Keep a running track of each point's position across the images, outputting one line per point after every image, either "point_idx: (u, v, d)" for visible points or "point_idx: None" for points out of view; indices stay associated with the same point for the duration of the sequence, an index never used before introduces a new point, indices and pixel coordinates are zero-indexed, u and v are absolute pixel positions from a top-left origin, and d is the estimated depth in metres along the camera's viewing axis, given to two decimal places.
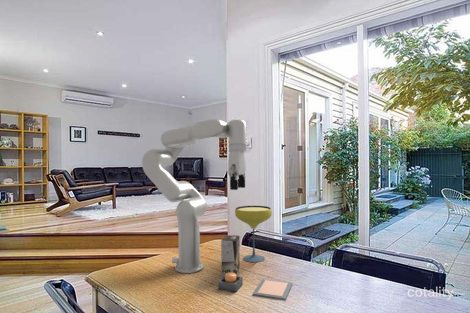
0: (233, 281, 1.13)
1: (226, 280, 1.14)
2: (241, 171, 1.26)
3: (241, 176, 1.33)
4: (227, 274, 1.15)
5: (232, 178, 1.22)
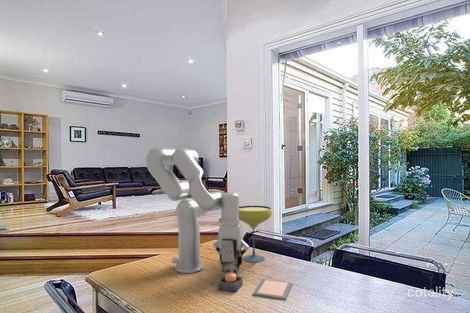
0: (233, 281, 1.13)
1: (226, 280, 1.14)
2: None
3: None
4: (227, 274, 1.15)
5: None
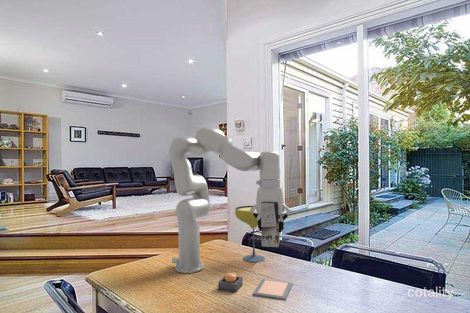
0: (233, 281, 1.13)
1: (226, 280, 1.14)
2: None
3: None
4: (227, 274, 1.15)
5: None
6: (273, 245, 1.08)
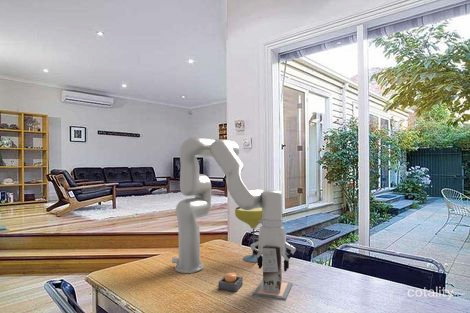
0: (233, 281, 1.13)
1: (226, 280, 1.14)
2: None
3: None
4: (227, 274, 1.15)
5: (290, 257, 1.10)
6: (275, 291, 1.08)
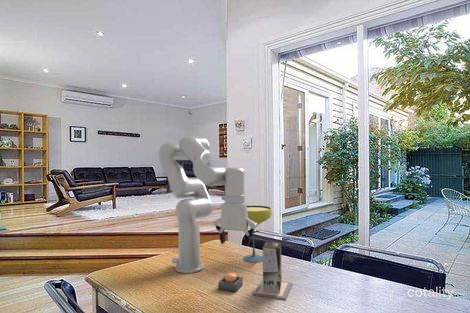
0: (233, 281, 1.13)
1: (226, 280, 1.14)
2: None
3: None
4: (227, 274, 1.15)
5: None
6: (275, 291, 1.08)
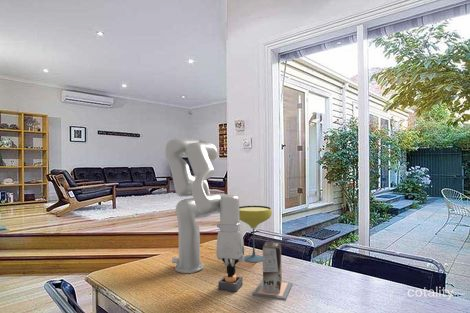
0: (233, 282, 1.13)
1: (226, 281, 1.14)
2: None
3: (229, 262, 1.15)
4: (227, 275, 1.15)
5: (236, 263, 1.14)
6: (275, 291, 1.08)
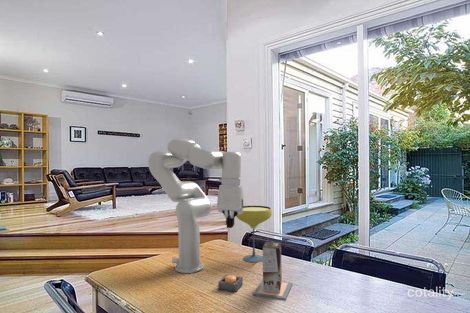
0: None
1: None
2: None
3: (228, 214, 1.22)
4: (227, 277, 1.15)
5: None
6: (275, 291, 1.08)
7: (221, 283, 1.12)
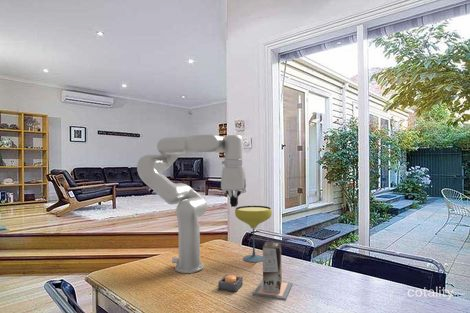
0: None
1: None
2: None
3: (232, 194, 1.29)
4: (227, 277, 1.15)
5: (238, 195, 1.28)
6: (275, 291, 1.08)
7: (221, 283, 1.12)
